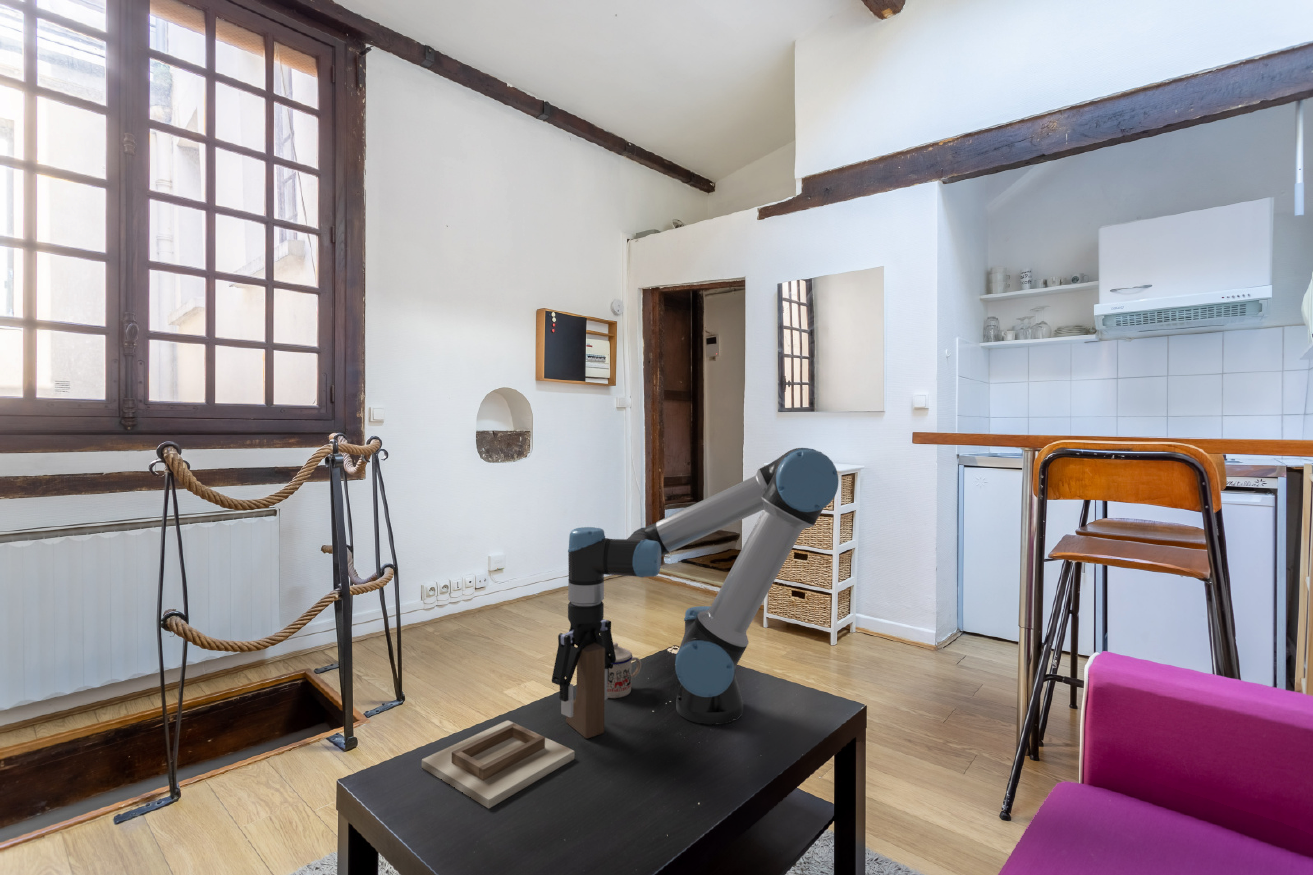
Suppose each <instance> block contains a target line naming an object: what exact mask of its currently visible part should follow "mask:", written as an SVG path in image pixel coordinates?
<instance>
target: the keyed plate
mask: <svg viewBox="0 0 1313 875" xmlns="http://www.w3.org/2000/svg"><path fill="white" fill-rule="evenodd" d="M575 754H576V752H575V750H573V749H572V748H569V747H568V746H565V745H564V744H563V745H562V744H560V743H558V742H557V741H554V740H551V739H550V738H547V737H545V736H543V735H541V734H538V733H537V732H535V731H532V730H530V729H528V728H526V727H524V726H521V725H519V724H518V723H515V722H513V721H510V720H509V719H508V720H505V721H502V722H500V723H498V724H496V725H494V726H491V727H490V728H487V729H485V730H483V731H481V732H478V733H476V734H474V735H472V736H470V737H468V738H466V739H464V740H461V741H458V742H457V743H455V744H452V745H450V746H447V747H446V748H443V749H441V750H439V751H437V752H434V753H433V754H431V755H429V756H426V757H424V758H422V759H421V768H422V769H423V770H425V771H427V772H428V773H430V774H432V775H433V776H435V777H437V778H438V779H440V780H441V779H442V780H441V781H442V782H445V783H446V784H448V785H449V784H450V786H451V787H453V788H454V787H455V788H454V789H456V790H457V791H459V792H460V793H462V792H463V794H464V795H466V796H467V797H469V798H470V797H471V798H470V799H472V800H474V801H476V802H477V803H479V804H480V805H482V806H483V807H486V808H487V809H488V810H489V809H491V808H493V807H494V806H496V805H497V804H499V803H501V802H503V801H505V800H506V799H507V798H509V797H511V796H513V795H515V794H516V793H518V792H520V791H522V790H523V789H525V788H527V787H529V786H530V785H532V784H534V783H536V782H537V781H538V780H541V779H542V778H544V777H546V776H548V775H549V774H550V773H552V772H554V771H556V770H558V769H559V768H561V767H563V766H564V765H566V764H568V763H570V762H572V761H573V760H575Z"/></svg>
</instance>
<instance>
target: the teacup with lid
mask: <svg viewBox="0 0 1313 875" xmlns="http://www.w3.org/2000/svg"><path fill="white" fill-rule="evenodd" d="M613 645H614V650H615V656H616V661H615V662H614V663H613V662H612V663H611V664H613V668H612V669H609V680H608V686H607V699H618V698H619V699H620V698H623V697H626V696H628V695H629V694H630V693H631V691H632V679H633V678H636V677H637V676H638V675H639V674H640V671H641V668H642V661H641V659H640V658H639V657H637V656H633V654H632V651H630V650H629V649H627V648H624V647H621V646H619V644H618V642H614V641H613ZM609 655H610V654H609ZM634 661H636V663H637V664H636V668H635V670H634V671H633V672H632V662H634Z"/></svg>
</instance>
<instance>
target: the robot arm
mask: <svg viewBox="0 0 1313 875" xmlns="http://www.w3.org/2000/svg"><path fill="white" fill-rule="evenodd" d="M838 487H839V474H838V470H837V468H836V466H835V464H834V462H833V461H832V459H831V458H830V457H829V456H827V455H826V454H824V453H823V452H821V451H820V450H816V449H814V448H808V447H797V448H793V449H791V450H788V451H787V452H785V453H784V454H783V455H781V456H779V457H777V459H775V460H773V461H772V462H770V463H768V464H767V465H764V466H762V467H759V468H757V472H756V474H755V475H754V476H751V477H750V478H748V479H745V480H743V481H741V482H739V483H737V484H735V485H733V486H730V487H728V488H726V489H724V490H722V491H719V492H718V493H715V494H713V495H711V496H709V497H708V498H707V497H706V498H705V499H702V500H701V501H698V502H697V503H694V504H692V505H690V506H688V507H685V508H684V509H681V510H679V511H677V512H675V513H673V514H671V515H669V516H667V517H664V518H663V519H660V520H658V521H656V522H654V523H651V524H650V525H648V526H646V527H641V528H638V529H636V530H635V531H633V533H632V534H631V535H630V536H629V537H628V538H626V539H624V538H623V539H622V538H621V539H619V538H608V537H607V538H606V535H605V530H604V529H603V528H600V527H592V526H587V527H586V526H585V527H577V528H574V529H572V530H571V531H570V533H569V536H568V550H567V553H568V558H567V559H568V563H567V564H568V581H567V582H568V583H567V584H568V588H567V592H568V596H567V597H568V601H569V602H568V604H567V620H568V621H569V624H570V626H569V627H570V628H569V630H568V632H565V633H562V632H560V633H559V634H558V636H557V639H558V640H557V641H558V644H557V645H558V646H557V651H556V657H555V660H554V666H553V671H552V677H551V683H552V684H555V685H558V686H559V700H560V702H561V703H560V705H561V708H560V710H561V711H560V713H561V715H563V716H565V717H566V716H568V717H570V718H571V717H573V700H574V684H572V683H571V682H572V681H573V680H572V679H573V677H574V674H575V672H576V670H577V663H578V660H579V657H580V654H581V652H582V649H584V648H585V646H587V645H590V644H592V643H596V644H598V645H600V646H602V647H604V648H605V696H604V701H606V700H608V698H607V686H608V680H609V669H612V668H613V664H611V663H612V662H613V663H614V662H615V661H616V656H615V650H614V645H613V642H614V641H613V637H612V621H611V620H608V619H604V617H605V616H604V614H605V613H604V612H605V611H604V609H605V607H604V606H605V604H604V602H603V600H605V576H606V575H607V576H611V575H612V576H623V577H637V578H647V577H649V578H652V577H656V576H658V575H659V574H660V572H661V566H662V565H661V564H662V557H663V556H665V555H667V554H670V553H671V552H674V551H675V550H677V549H680V548H682V547H684V546H686V545H688V544H691V543H693V542H695V541H698V540H699V539H702V538H704V537H706V536H709V535H711V534H713V533H715V532H718V531H719V530H723V529H724V528H726V527H728V526H731V525H732V524H735V523H737V522H739V521H741V520H742V521H743V520H744V519H746V518H749V517H751V516H752V515H755V514H757V513H759V512H761V511H762V512H761V513H760V516H759V517H758V519H757V520H756V523H755V524H754V526H753V528H752V529H751V532H750V533H749V535H748V537H747V538H746V541H745V542H744V545H743V546H742V548H741V550H740V552H739V554H738V555H737V557H736V559H735V561H734V563H733V565H732V567H731V569H730V571H729V572H728V574H727V576H726V577H725V580H724V582H723V584H722V585H721V586H720V588H719V590H718V593H717V594H716V596H715V598H714V599H713V602H712V603H711V605H709V606H708V605H707V606H706V605H705V606H702V605H699V606H693V607H689V608H687V609H686V610H685V614H684V619H683V621H684V635H683V638H682V640H681V642H680V645H679V648H678V650H677V652H676V655H675V659H674V663H675V664H674V666H675V675H676V677H677V679H678V681H679V683H680V686H679V690H678V692H677V696H676V699H675V700H676V701H675V702H676V703H675V704H676V705H675V706H676V707H675V708H676V711H677V713H678V715H679V716H681V717H682V718H684V719H685V720H688V721H690V722H693V723H697V724H701V723H704V724H703V725H712V724H715V725H717V724H716V723H725V724H727V723H726V722H729V721H732V720H733V719H737V718H738V717H739V716H740V715H741V714H742V712H743V713H744V701H743V700H744V699H743V697H742V694H741V691H740V687H739V683H738V681H737V677H736V676H737V675H736V672H737V671H736V667H737V666H738V663H739V662H740V660H741V658H742V656H743V655H744V652H745V651H746V649H747V647H748V645H749V638H748V635H747V631H748V629H749V628H750V625H751V624H752V622H753V620H754V619H755V617H756V614H757V613H758V611H759V610H760V608H761V605H762V604H763V602H764V601H765V599H766V598H767V595H768V593H769V591H770V589H771V588H772V587H773V586H772V585H773V584H774V582H775V581H776V579H777V576H778V575H779V573H780V571H781V569H782V568H783V566H784V564H785V562H786V561H787V559H788V558H789V555H790V553H791V551H792V549H793V548H794V545H795V544H796V543H797V540H798V539H799V537H800V535H801V533H802V532H803V530H805V529H810V528H811V527H812V528H813V527H814V526H815V524H816V523H817V521H818V519H819V517H820V516H821V513H822V512H823V510H824V509H825V508H826V507H827V506H829V505H830V503H831V502H832V501H833V500H834V498H835V497H836V494H837V492H838V489H839V488H838ZM576 646H577V647H578V646H579V647H578V648H577V647H576ZM609 654H610V655H609ZM742 715H743V714H742ZM742 715H741V716H742ZM738 719H739V718H738ZM738 719H737V720H738ZM732 722H733V721H732ZM729 723H730V722H729Z"/></svg>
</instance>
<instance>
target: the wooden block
mask: <svg viewBox="0 0 1313 875" xmlns="http://www.w3.org/2000/svg"><path fill="white" fill-rule="evenodd" d="M578 647H579V646H577V648H578ZM604 696H605V648H604V647H602V646H600V645H598V644H596V643H592V644H590V645H587V646H585V648H584V649H582V652H581V654H580V657H579V660H578V663H577V666H576V694H575V699H573V717H571V718H570V717H568V716H566V715H565V722H566V724H567V725H568V726H570V727H571V728H573V730H575V731H576V732H577V733H579V734H580V735H581V736H582V737H584V738H585V739H590V738H593V737H596V736H599V735H601V734H604V733H605V700H604Z"/></svg>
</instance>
